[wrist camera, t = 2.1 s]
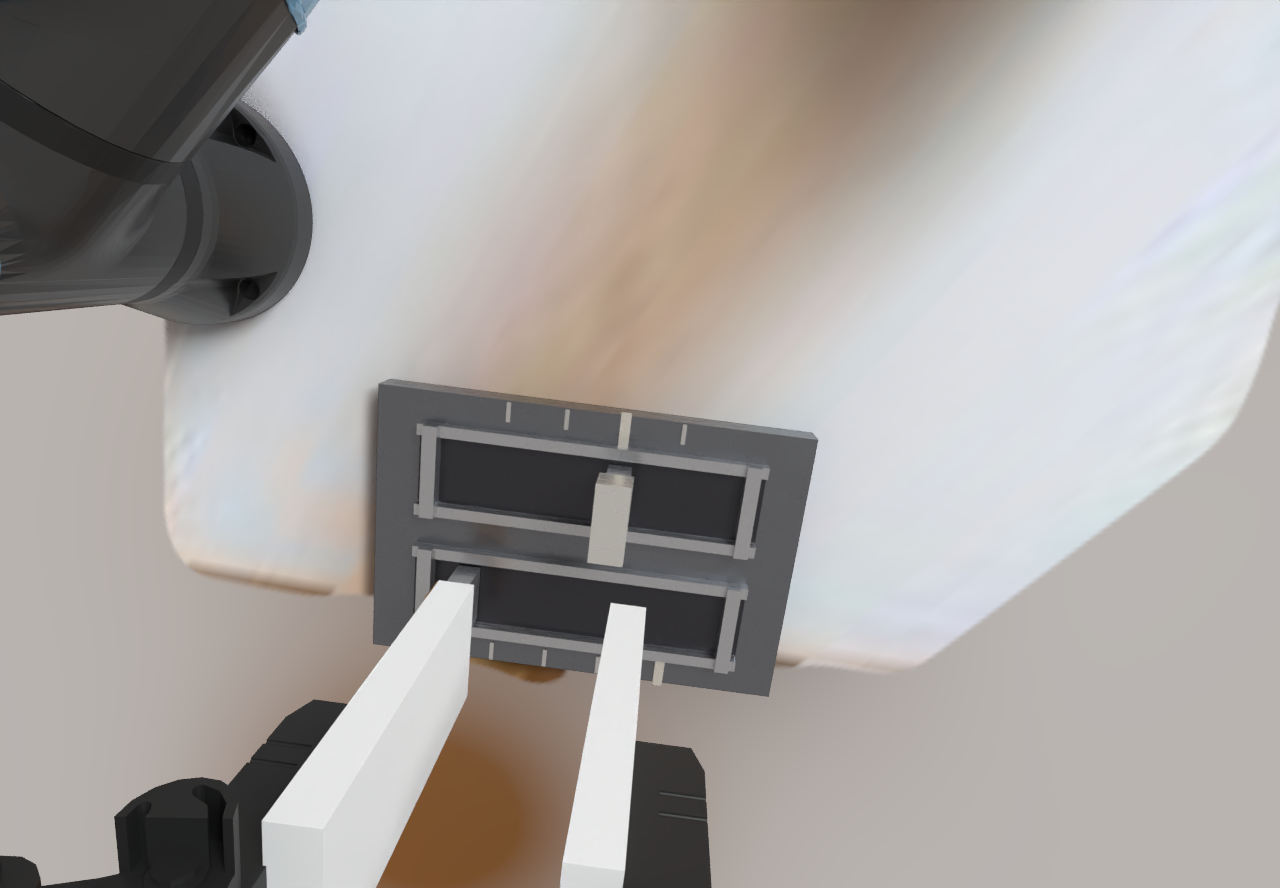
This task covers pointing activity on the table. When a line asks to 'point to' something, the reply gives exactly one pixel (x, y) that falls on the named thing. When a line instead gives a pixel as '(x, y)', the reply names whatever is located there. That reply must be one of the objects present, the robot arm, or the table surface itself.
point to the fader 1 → (467, 577)
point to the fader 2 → (611, 516)
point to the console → (561, 524)
